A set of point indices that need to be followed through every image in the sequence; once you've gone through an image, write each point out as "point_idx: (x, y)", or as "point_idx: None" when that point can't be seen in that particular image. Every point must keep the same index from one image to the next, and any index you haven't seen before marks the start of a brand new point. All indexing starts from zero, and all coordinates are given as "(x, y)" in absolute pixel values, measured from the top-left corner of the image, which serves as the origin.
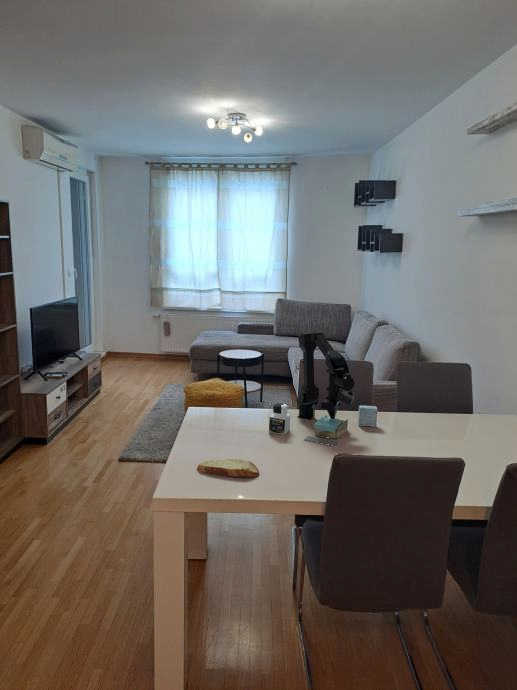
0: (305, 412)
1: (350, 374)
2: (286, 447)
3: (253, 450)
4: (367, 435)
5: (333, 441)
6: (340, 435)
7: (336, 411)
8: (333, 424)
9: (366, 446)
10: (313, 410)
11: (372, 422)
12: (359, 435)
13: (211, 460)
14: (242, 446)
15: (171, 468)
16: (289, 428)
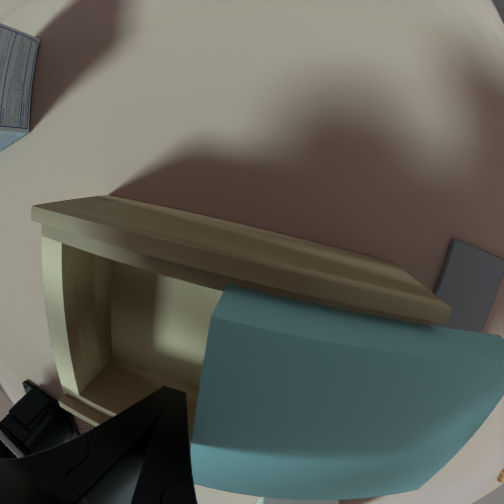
0: (58, 443)
1: None
2: (469, 444)
3: (464, 479)
4: (191, 21)
5: (447, 293)
6: (320, 246)
7: (94, 460)
8: (459, 388)
9: (447, 49)
10: (28, 419)
11: (17, 50)
12: (209, 71)
13: (501, 480)
14: (433, 500)
15: (490, 491)
16: (271, 498)
